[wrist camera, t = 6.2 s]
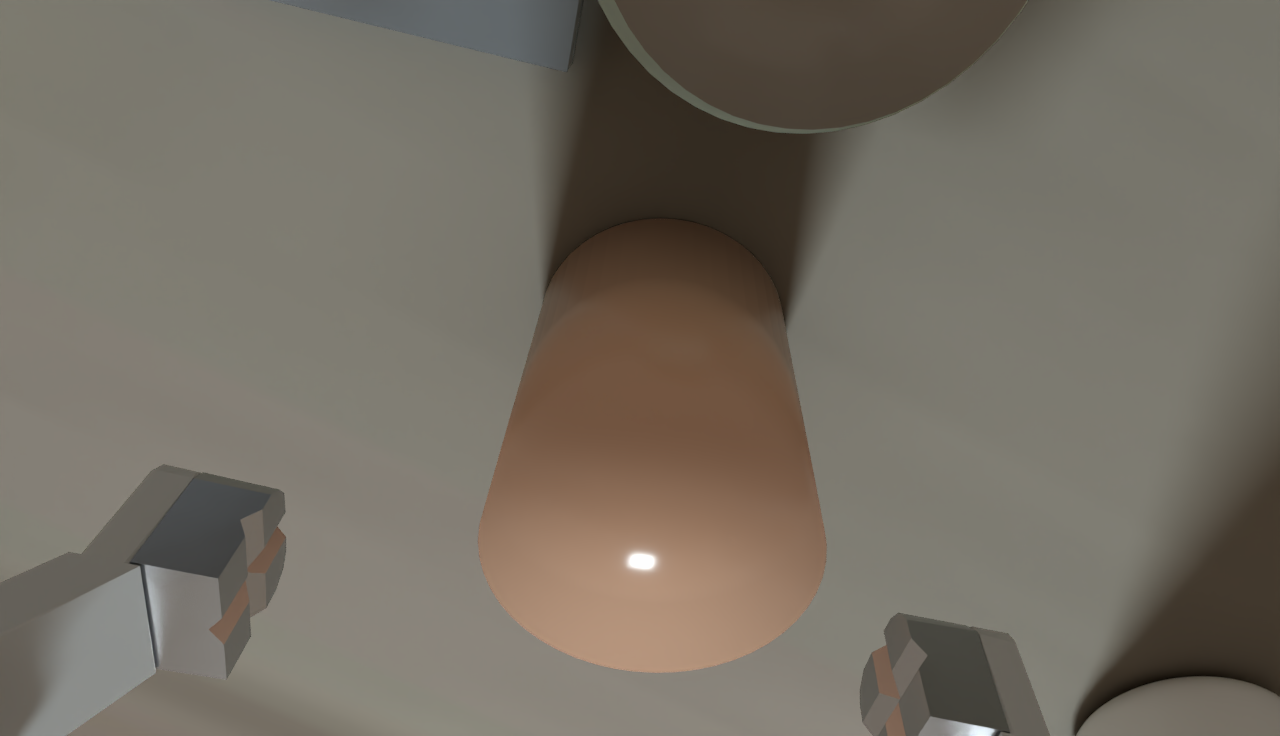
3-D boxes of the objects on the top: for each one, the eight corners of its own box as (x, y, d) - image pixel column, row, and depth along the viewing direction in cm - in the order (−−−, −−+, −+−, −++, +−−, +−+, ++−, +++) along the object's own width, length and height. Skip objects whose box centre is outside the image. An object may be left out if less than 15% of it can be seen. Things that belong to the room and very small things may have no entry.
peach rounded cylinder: (805, 233, 15) (864, 441, 10) (760, 440, 18) (789, 686, 13) (546, 203, 15) (478, 398, 10) (536, 415, 18) (478, 655, 13)
